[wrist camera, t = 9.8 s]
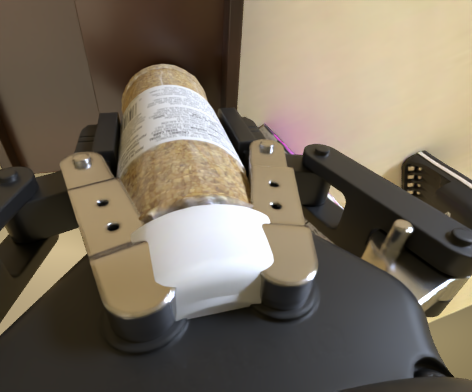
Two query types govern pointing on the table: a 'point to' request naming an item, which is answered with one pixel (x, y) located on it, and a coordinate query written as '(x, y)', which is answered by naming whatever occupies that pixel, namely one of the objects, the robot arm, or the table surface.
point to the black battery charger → (439, 186)
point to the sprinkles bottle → (190, 194)
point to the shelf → (101, 64)
